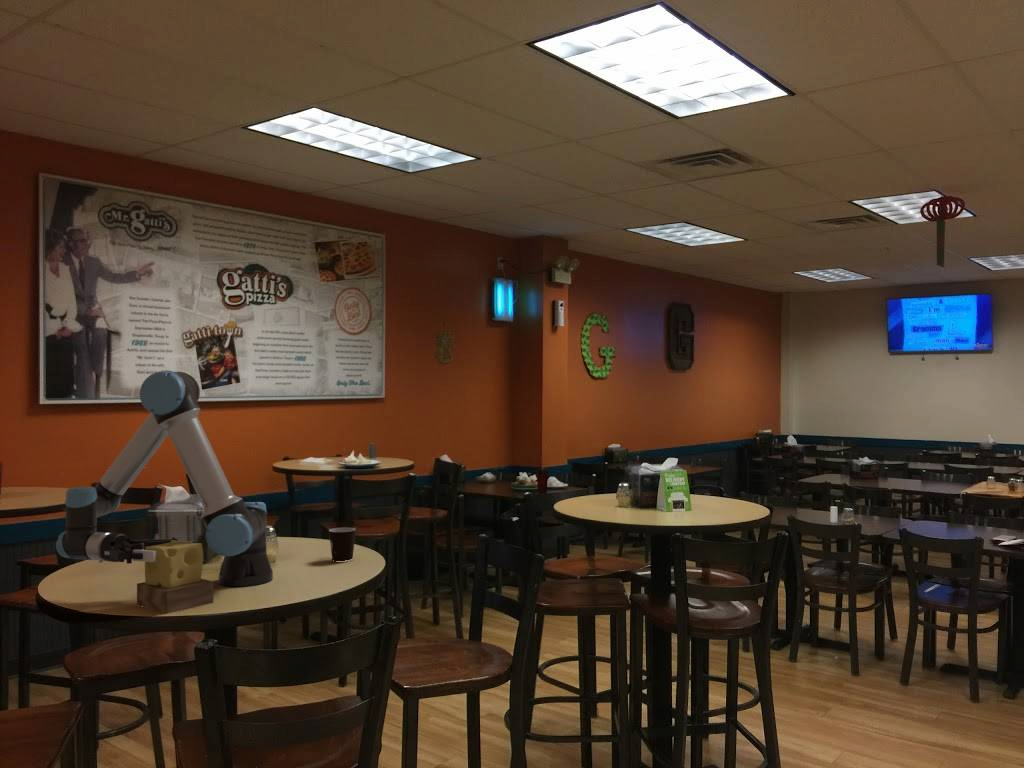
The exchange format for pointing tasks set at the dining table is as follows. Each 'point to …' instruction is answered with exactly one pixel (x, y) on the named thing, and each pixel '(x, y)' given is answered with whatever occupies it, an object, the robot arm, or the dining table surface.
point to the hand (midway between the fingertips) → (173, 551)
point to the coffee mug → (342, 543)
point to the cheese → (174, 564)
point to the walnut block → (175, 596)
